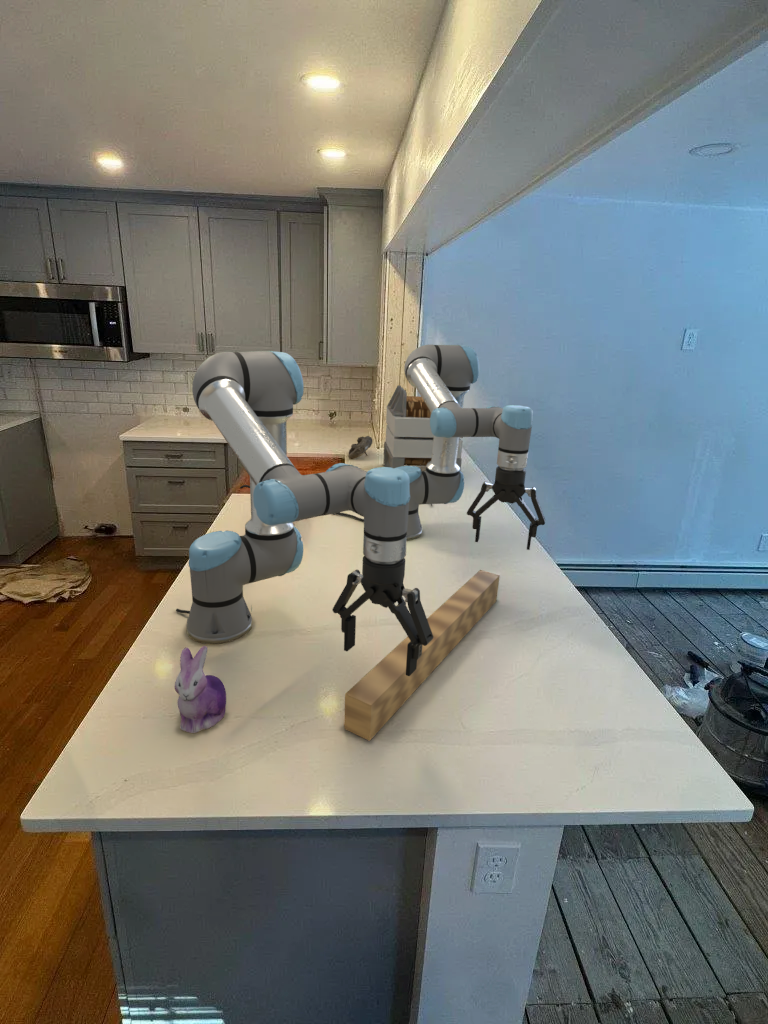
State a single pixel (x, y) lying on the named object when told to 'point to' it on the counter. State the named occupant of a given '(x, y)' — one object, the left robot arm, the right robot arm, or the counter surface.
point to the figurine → (198, 693)
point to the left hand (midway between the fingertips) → (379, 659)
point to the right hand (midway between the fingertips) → (502, 544)
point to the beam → (388, 679)
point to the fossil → (360, 447)
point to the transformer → (409, 432)
